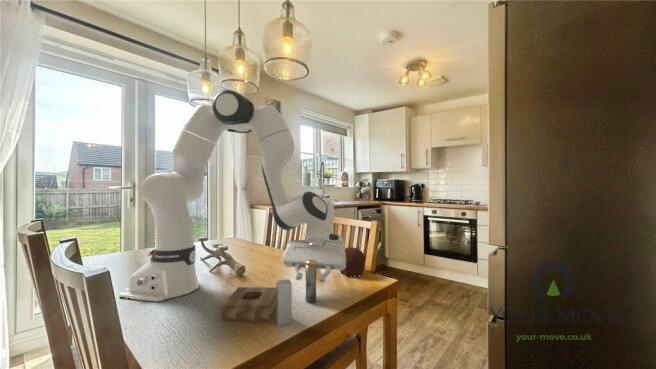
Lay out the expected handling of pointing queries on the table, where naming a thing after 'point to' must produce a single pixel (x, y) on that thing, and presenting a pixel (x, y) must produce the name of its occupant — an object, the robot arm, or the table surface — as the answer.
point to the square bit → (283, 302)
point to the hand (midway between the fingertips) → (310, 280)
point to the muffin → (354, 262)
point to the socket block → (250, 304)
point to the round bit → (310, 281)
